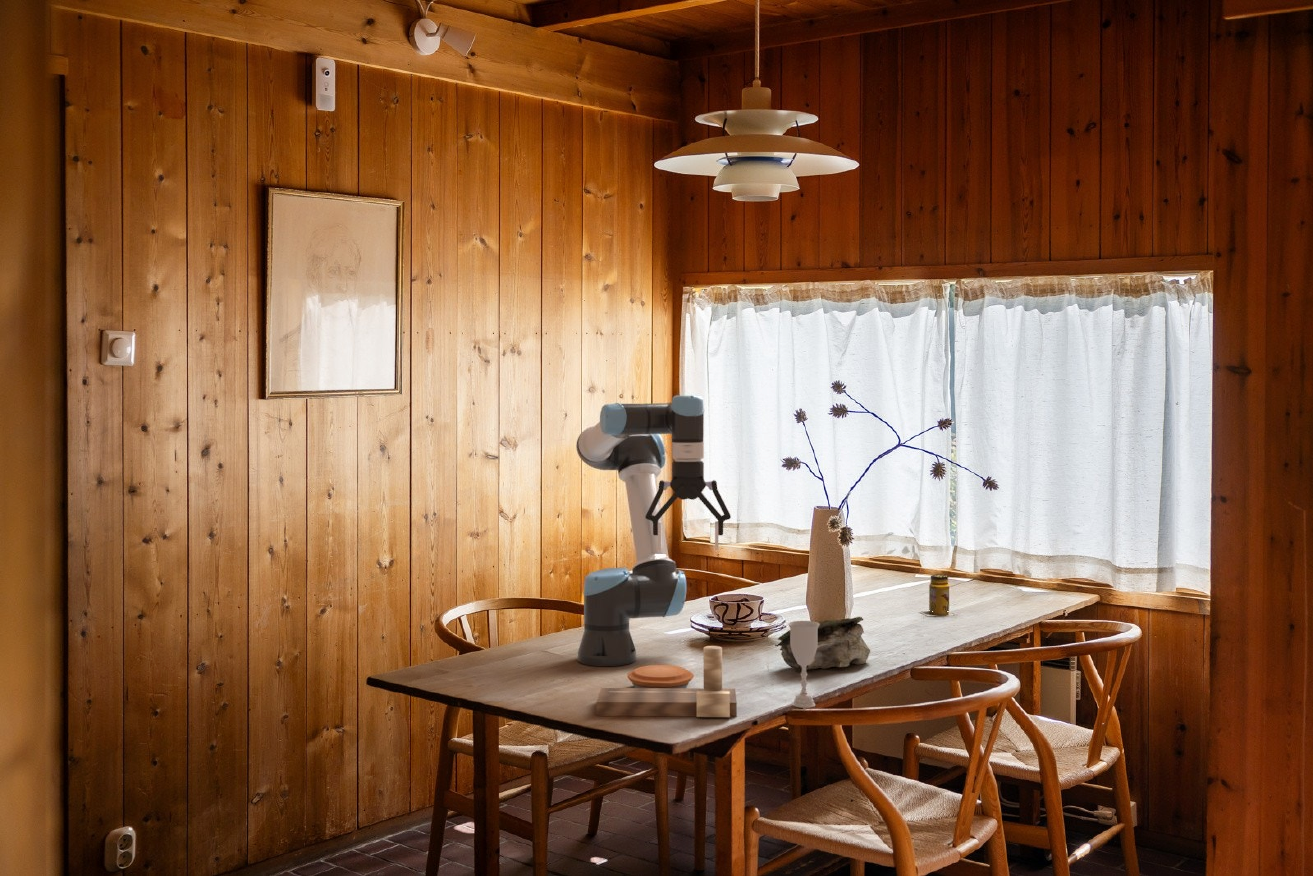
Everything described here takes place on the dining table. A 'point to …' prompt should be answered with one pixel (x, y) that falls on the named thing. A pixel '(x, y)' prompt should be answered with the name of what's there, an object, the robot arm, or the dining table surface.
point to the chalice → (803, 654)
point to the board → (653, 702)
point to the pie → (660, 677)
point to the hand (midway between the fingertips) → (688, 549)
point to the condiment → (938, 596)
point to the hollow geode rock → (832, 645)
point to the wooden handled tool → (713, 686)
